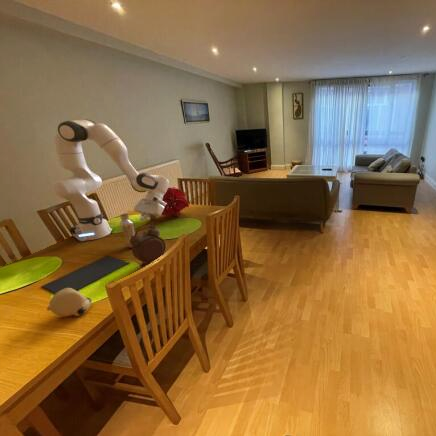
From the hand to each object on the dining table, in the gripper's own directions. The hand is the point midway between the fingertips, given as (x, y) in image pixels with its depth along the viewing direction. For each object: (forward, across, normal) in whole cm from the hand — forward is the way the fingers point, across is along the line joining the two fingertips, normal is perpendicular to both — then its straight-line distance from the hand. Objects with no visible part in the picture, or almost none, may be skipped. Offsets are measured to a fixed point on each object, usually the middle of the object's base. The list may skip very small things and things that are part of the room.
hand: (142, 220), depth 144 cm
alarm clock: (+21, +25, -2) cm, 33 cm away
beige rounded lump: (+47, +29, -28) cm, 62 cm away
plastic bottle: (+16, 0, +3) cm, 16 cm away
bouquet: (-14, -19, +33) cm, 41 cm away
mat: (+35, +6, -16) cm, 39 cm away
